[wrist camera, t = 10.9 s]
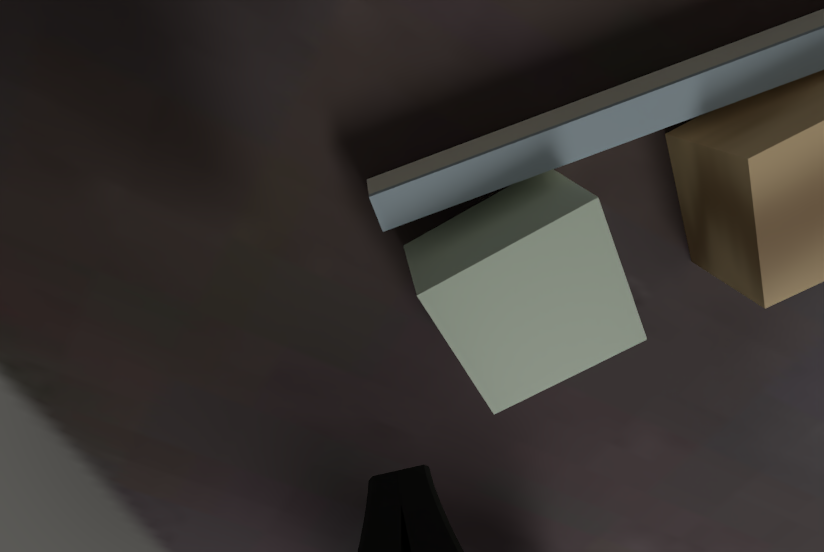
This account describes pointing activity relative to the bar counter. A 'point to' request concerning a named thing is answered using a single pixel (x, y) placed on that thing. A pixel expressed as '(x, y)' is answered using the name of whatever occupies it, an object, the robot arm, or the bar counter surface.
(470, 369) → the sage block
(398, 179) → the bar
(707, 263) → the oak block
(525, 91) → the bar counter surface
